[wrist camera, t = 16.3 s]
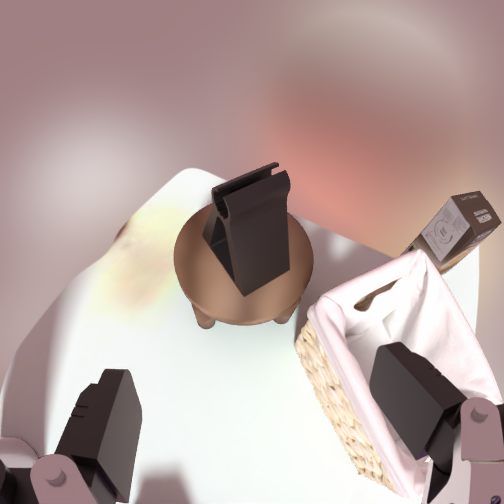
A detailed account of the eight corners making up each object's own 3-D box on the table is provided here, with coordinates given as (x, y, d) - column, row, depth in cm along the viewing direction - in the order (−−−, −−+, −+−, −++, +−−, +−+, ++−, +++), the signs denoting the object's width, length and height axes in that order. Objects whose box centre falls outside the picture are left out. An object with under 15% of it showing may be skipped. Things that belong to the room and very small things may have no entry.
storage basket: (280, 337, 38) (307, 296, 26) (373, 291, 43) (424, 240, 30) (354, 484, 28) (414, 509, 15) (440, 420, 32) (510, 410, 20)
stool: (184, 342, 37) (172, 323, 29) (184, 238, 45) (176, 200, 37) (305, 334, 39) (325, 313, 31) (288, 233, 47) (299, 196, 39)
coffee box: (416, 288, 43) (475, 235, 29) (398, 255, 46) (449, 195, 32) (448, 272, 45) (502, 222, 31) (431, 243, 48) (480, 188, 34)
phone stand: (289, 271, 33) (316, 202, 23) (243, 298, 31) (252, 235, 21) (245, 215, 37) (252, 137, 26) (202, 236, 35) (193, 159, 24)
